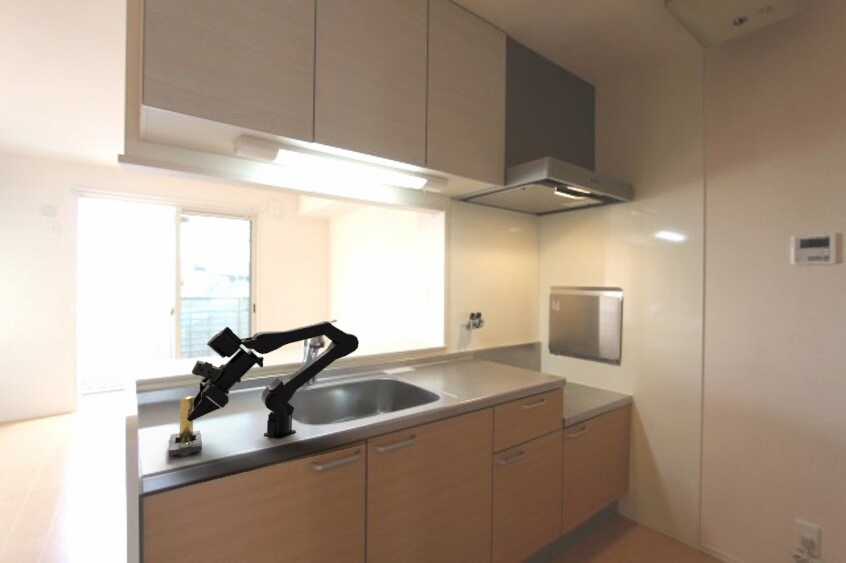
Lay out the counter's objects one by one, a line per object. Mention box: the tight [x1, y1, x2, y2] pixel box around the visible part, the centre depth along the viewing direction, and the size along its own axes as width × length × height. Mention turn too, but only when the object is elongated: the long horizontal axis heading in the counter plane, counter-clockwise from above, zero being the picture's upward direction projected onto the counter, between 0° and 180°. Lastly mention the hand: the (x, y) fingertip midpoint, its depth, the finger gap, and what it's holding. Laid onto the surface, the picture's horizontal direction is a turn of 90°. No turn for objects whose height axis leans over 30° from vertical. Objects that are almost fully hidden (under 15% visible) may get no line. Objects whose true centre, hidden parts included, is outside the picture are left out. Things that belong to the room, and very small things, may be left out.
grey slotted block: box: [168, 430, 203, 458], centre depth 105 cm, size 17×7×3 cm, turn 31°
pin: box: [179, 396, 195, 443], centre depth 104 cm, size 3×3×13 cm
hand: (188, 415), depth 104 cm, fingers open, 9 cm apart
